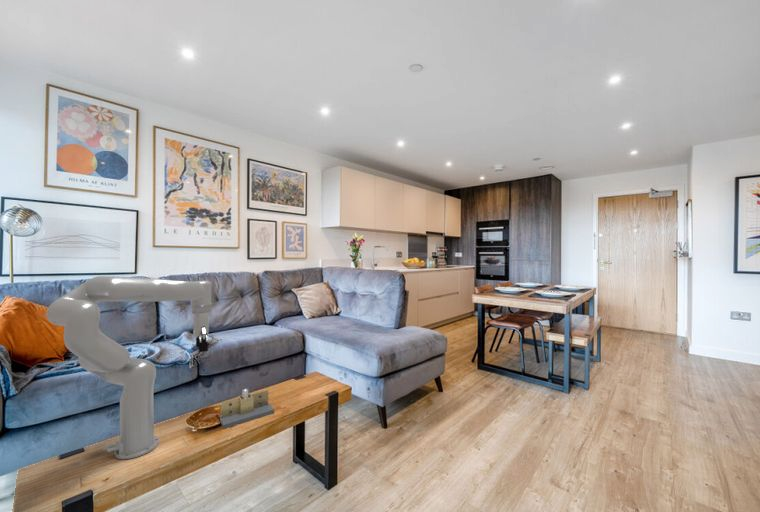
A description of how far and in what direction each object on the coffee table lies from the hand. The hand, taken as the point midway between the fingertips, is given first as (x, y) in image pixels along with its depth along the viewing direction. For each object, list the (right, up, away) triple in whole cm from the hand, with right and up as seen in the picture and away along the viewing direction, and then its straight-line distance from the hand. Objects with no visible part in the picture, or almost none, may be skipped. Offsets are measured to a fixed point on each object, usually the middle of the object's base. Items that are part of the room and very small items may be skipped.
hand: (201, 348), depth 137 cm
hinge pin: (+19, -26, -1) cm, 33 cm away
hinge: (+19, -26, -1) cm, 33 cm away
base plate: (+19, -28, -1) cm, 34 cm away
